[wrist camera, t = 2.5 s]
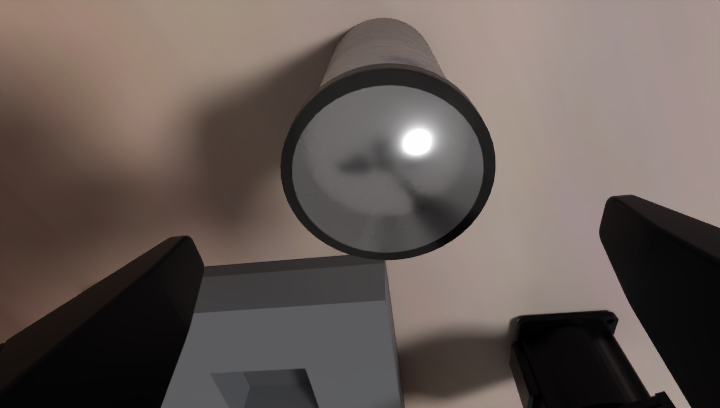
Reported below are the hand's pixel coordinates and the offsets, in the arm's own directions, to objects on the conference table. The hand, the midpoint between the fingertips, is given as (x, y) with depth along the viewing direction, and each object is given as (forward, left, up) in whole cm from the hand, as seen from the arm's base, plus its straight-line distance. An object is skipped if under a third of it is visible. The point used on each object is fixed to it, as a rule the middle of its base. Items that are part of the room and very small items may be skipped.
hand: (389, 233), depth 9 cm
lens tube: (0, 0, -12) cm, 12 cm away
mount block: (+10, +20, -12) cm, 25 cm away
